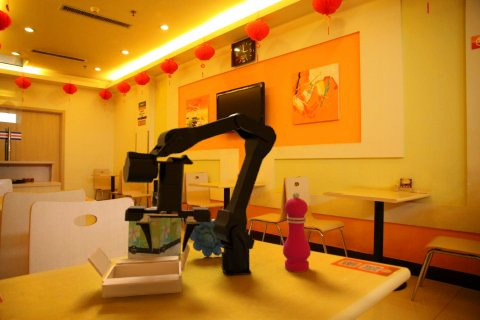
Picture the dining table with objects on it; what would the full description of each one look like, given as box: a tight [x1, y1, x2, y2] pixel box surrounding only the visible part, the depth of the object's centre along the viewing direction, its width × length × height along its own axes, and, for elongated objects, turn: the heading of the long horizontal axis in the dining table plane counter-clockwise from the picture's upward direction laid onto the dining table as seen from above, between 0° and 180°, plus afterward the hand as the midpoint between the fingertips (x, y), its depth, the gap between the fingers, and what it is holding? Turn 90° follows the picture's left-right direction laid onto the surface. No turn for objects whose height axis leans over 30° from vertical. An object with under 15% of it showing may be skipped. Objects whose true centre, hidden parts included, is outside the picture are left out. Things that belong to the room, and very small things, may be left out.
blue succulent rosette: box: [189, 218, 225, 258], centre depth 95 cm, size 12×7×12 cm, turn 94°
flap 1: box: [86, 246, 113, 278], centre depth 71 cm, size 5×10×1 cm
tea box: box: [127, 206, 182, 264], centre depth 94 cm, size 15×10×15 cm, turn 168°
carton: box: [101, 255, 183, 299], centre depth 72 cm, size 16×18×4 cm
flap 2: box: [180, 240, 191, 272], centre depth 74 cm, size 5×10×1 cm
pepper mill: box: [282, 191, 312, 273], centre depth 85 cm, size 7×7×20 cm
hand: (167, 251), depth 73 cm, fingers open, 7 cm apart
